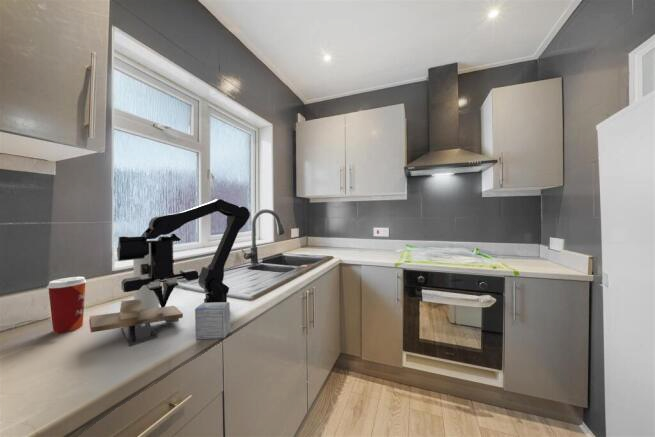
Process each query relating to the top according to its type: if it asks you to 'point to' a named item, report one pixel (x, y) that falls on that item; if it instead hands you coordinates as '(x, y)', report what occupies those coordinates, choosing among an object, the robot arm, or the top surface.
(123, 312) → the maple block
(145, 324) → the beam stand
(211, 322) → the medicine box
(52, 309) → the coffee cup
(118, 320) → the beam
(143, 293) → the cylindrical container
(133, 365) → the top surface
